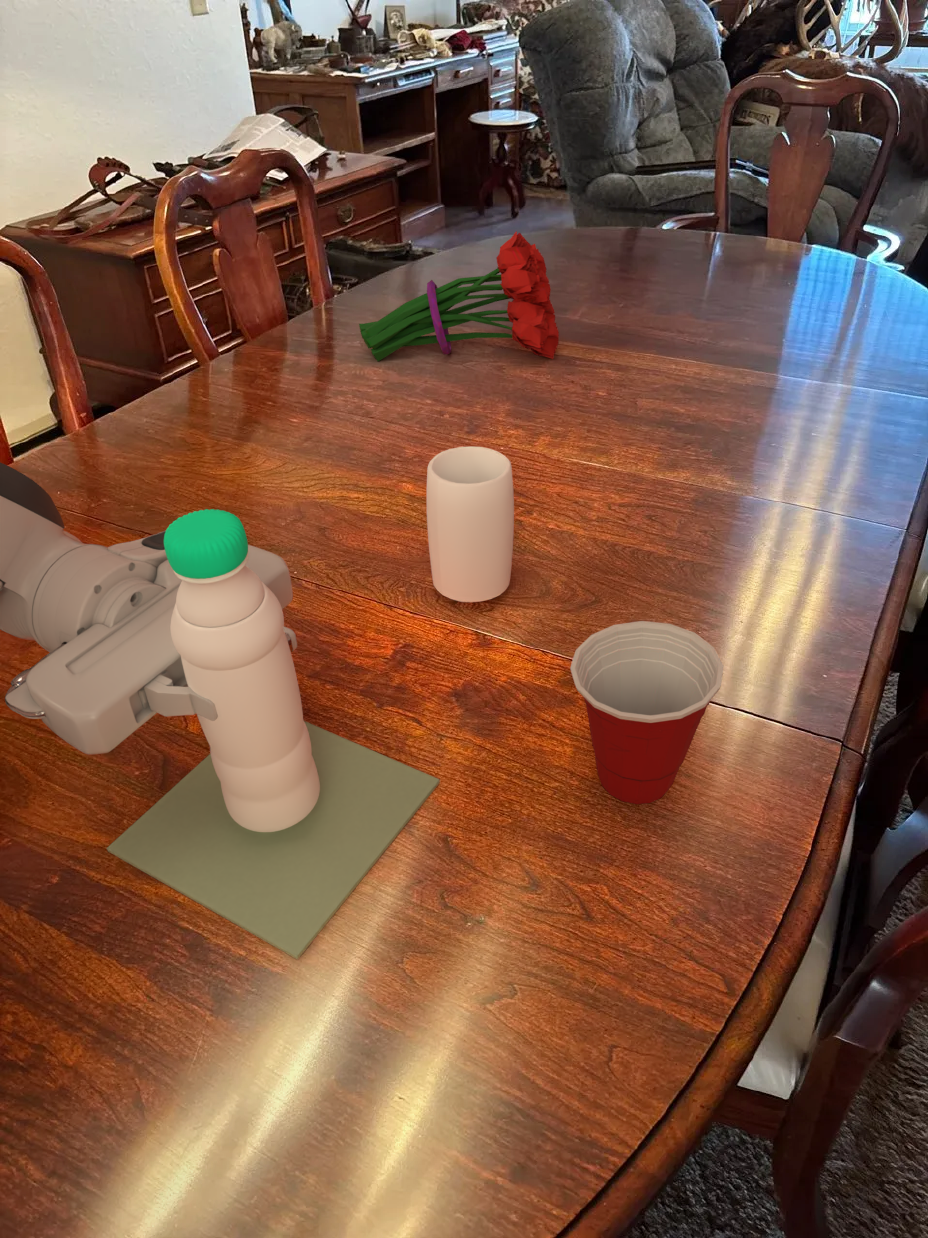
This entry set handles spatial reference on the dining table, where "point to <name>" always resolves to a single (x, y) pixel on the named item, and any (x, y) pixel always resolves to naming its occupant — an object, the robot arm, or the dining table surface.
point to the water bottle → (241, 673)
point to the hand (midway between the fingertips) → (257, 674)
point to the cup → (470, 522)
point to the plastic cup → (644, 702)
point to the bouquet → (430, 313)
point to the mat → (279, 842)
